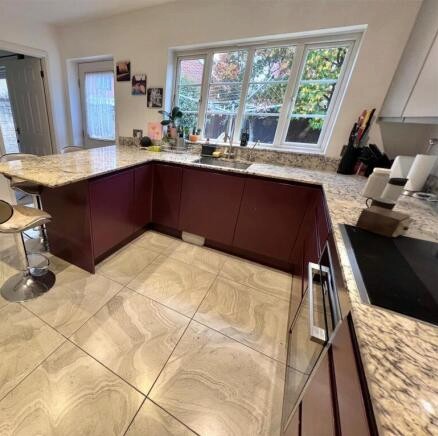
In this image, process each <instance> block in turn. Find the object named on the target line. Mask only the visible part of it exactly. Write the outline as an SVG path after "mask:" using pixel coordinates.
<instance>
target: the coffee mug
mask: <svg viewBox="0 0 438 436" xmlns="http://www.w3.org/2000/svg"><path fill="white" fill-rule="evenodd" d="M369 200H371V203H370V205H369V204H368V201H369ZM397 203H398V201H397V202H395V201H393V200H389V199H385V198H379V197H374V198H368V197H367V198H366V200H365V205H366V208H368V207H371V206H378V207H382V208H385V209H389V210H392V209H393V210H394V208H395V206H396V205H397ZM393 207H394V208H393Z"/></svg>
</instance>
